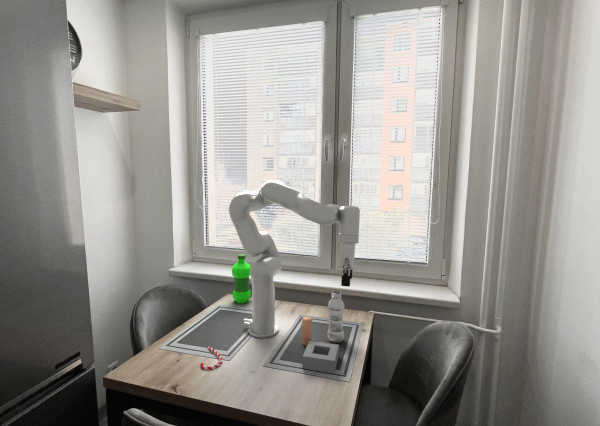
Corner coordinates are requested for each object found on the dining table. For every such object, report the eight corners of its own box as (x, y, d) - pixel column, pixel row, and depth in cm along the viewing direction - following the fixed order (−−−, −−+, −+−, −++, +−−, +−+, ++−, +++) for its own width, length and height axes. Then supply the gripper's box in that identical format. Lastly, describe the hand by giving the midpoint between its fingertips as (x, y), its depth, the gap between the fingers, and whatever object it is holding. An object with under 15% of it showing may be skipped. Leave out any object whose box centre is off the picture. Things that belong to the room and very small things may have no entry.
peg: (300, 344, 127) (300, 320, 126) (302, 340, 131) (303, 316, 130) (310, 346, 126) (310, 321, 125) (312, 341, 130) (313, 317, 129)
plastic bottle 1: (234, 297, 177) (234, 252, 174) (253, 298, 176) (253, 253, 173) (229, 304, 167) (228, 256, 165) (249, 305, 166) (249, 257, 164)
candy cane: (217, 344, 125) (224, 364, 111) (217, 347, 125) (225, 368, 111) (196, 348, 122) (201, 369, 108) (196, 351, 122) (201, 373, 108)
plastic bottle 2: (343, 345, 127) (344, 296, 125) (326, 343, 128) (327, 294, 126) (344, 337, 133) (345, 290, 131) (328, 336, 134) (329, 289, 132)
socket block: (302, 368, 111) (302, 356, 110) (309, 352, 121) (309, 340, 121) (334, 373, 108) (334, 360, 108) (338, 356, 119) (338, 344, 118)
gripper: (341, 234, 133) (339, 274, 134) (336, 241, 116) (334, 288, 118) (359, 235, 131) (357, 276, 133) (357, 243, 114) (355, 290, 116)
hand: (346, 282), depth 125 cm, fingers open, 9 cm apart
